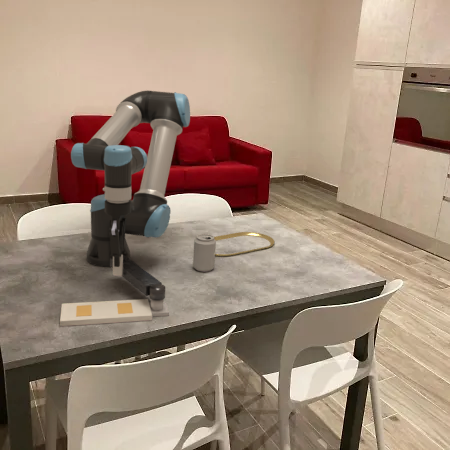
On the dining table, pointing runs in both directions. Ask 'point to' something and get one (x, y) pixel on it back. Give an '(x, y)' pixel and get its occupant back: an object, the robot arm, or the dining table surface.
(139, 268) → the swing arm
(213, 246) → the can
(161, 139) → the robot arm
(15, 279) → the dining table surface
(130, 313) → the panel
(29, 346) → the dining table surface
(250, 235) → the curved rod
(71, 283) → the dining table surface
